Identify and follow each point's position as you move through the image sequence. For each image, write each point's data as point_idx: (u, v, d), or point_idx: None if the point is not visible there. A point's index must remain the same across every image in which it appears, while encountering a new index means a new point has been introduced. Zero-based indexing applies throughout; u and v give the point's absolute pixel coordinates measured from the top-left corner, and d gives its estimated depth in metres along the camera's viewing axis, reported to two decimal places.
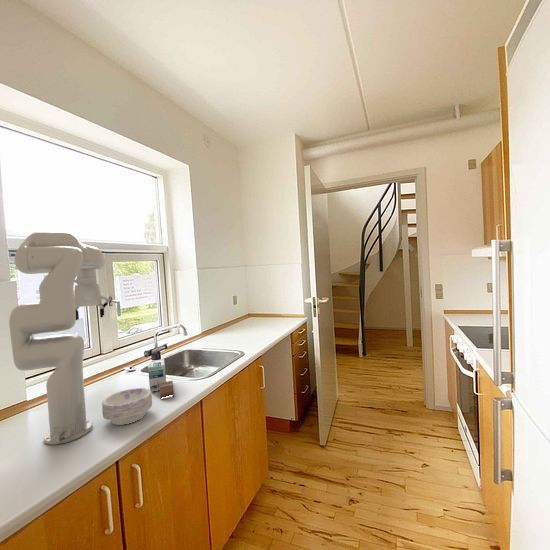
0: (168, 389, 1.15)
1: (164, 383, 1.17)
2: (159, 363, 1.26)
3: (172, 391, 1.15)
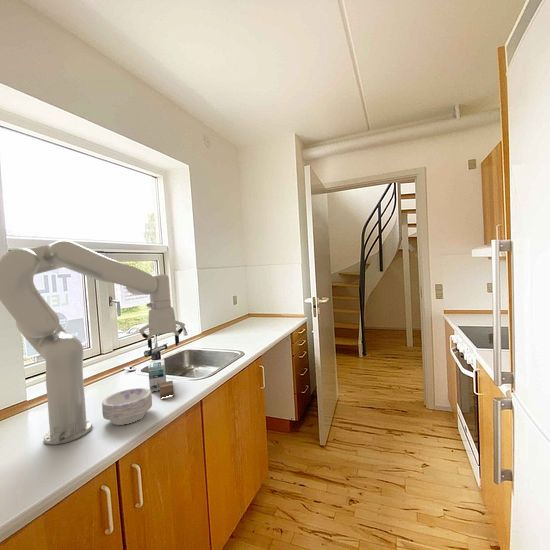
0: (168, 389, 1.15)
1: (164, 383, 1.17)
2: (159, 363, 1.26)
3: (172, 391, 1.15)
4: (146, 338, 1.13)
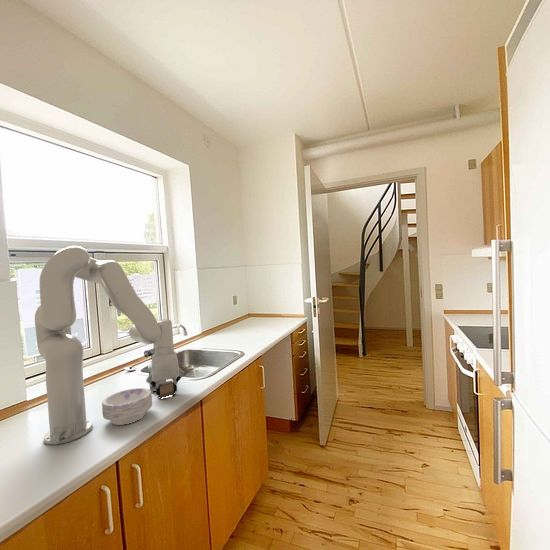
0: (168, 389, 1.15)
1: (164, 383, 1.17)
2: None
3: (172, 390, 1.15)
4: (155, 386, 1.14)
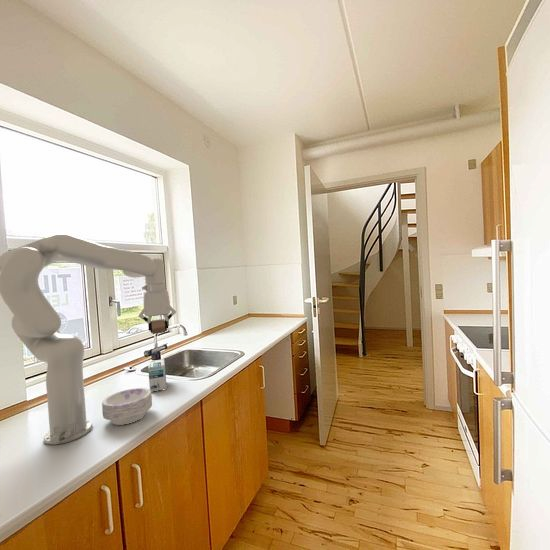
0: (159, 325, 1.19)
1: (156, 320, 1.22)
2: (159, 363, 1.26)
3: (163, 326, 1.20)
4: (147, 321, 1.19)
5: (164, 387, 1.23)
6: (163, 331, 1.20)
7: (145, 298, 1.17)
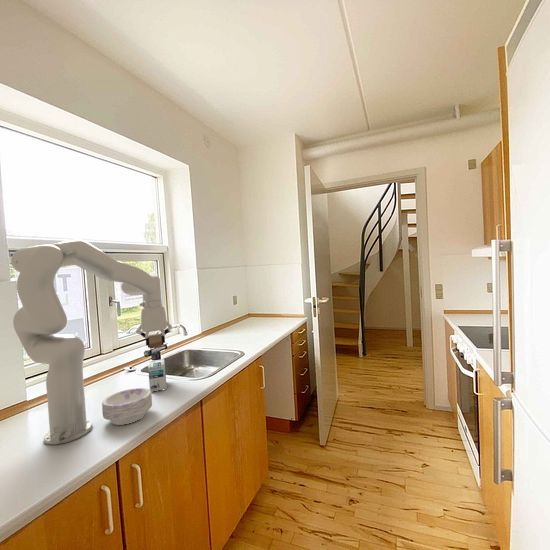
0: (156, 340, 1.24)
1: (153, 335, 1.27)
2: (159, 363, 1.26)
3: (160, 341, 1.25)
4: (144, 337, 1.24)
5: (164, 387, 1.23)
6: (160, 346, 1.25)
7: (143, 314, 1.22)
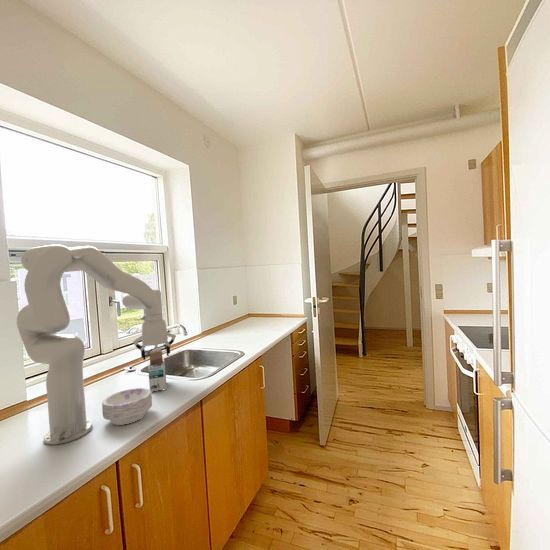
0: (157, 356, 1.24)
1: (154, 351, 1.27)
2: None
3: (161, 357, 1.25)
4: (140, 349, 1.23)
5: (164, 387, 1.23)
6: (161, 362, 1.25)
7: (143, 328, 1.22)
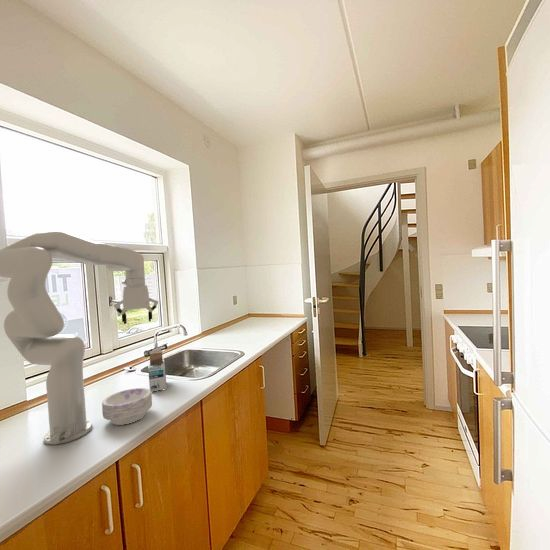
0: (157, 356, 1.24)
1: (154, 351, 1.27)
2: None
3: (161, 358, 1.25)
4: (120, 313, 1.22)
5: (164, 387, 1.23)
6: (160, 362, 1.25)
7: (124, 292, 1.21)
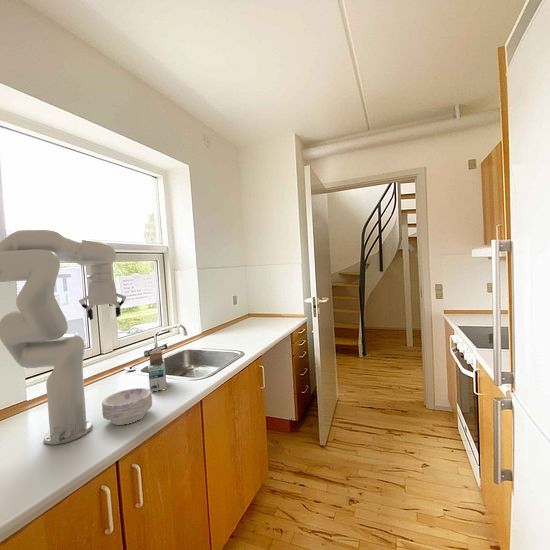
0: (157, 356, 1.24)
1: (154, 351, 1.27)
2: None
3: (161, 358, 1.25)
4: (86, 308, 1.19)
5: (164, 387, 1.23)
6: (160, 362, 1.25)
7: (90, 287, 1.18)
